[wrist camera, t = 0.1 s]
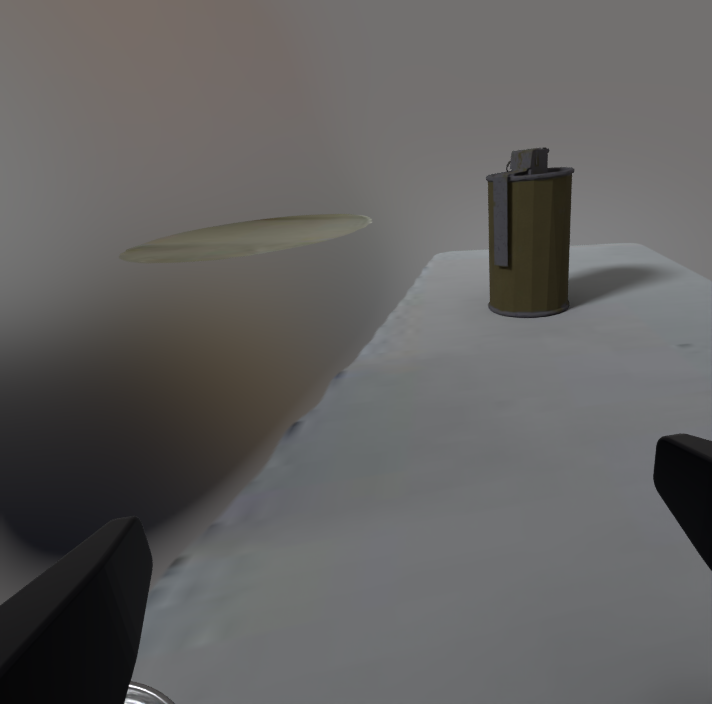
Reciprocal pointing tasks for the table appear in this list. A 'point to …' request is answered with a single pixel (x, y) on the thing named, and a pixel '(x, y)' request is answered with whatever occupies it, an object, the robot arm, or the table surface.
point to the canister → (529, 236)
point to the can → (145, 695)
